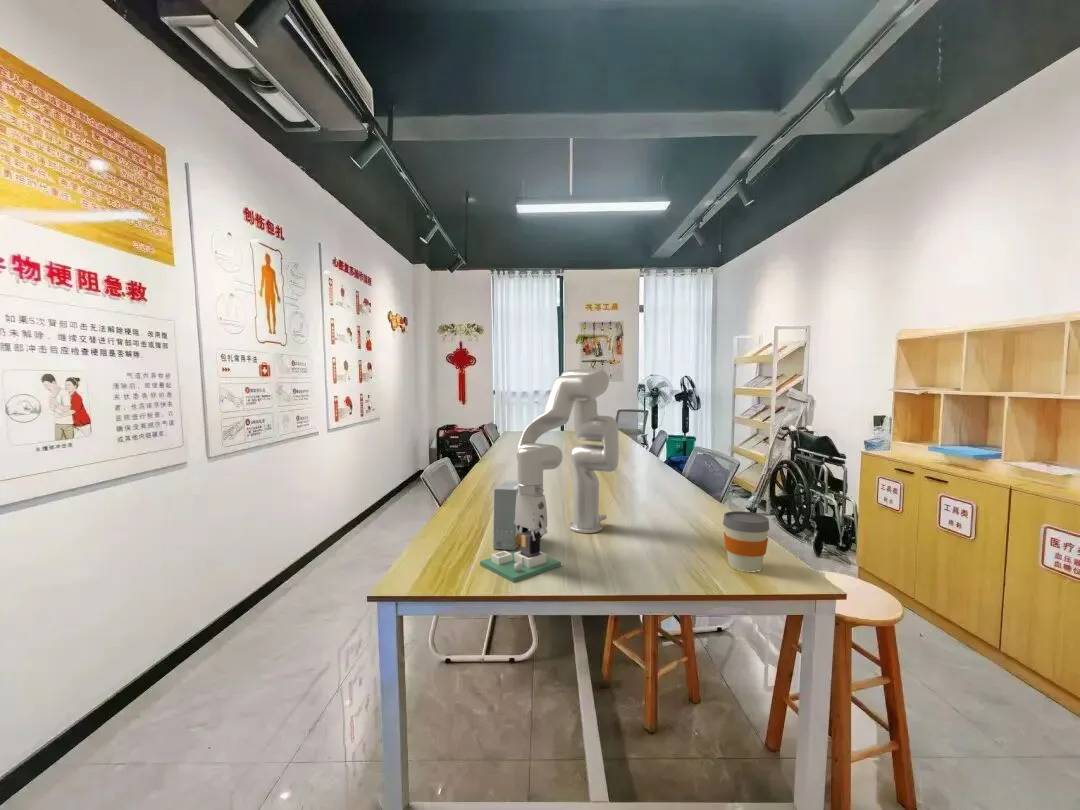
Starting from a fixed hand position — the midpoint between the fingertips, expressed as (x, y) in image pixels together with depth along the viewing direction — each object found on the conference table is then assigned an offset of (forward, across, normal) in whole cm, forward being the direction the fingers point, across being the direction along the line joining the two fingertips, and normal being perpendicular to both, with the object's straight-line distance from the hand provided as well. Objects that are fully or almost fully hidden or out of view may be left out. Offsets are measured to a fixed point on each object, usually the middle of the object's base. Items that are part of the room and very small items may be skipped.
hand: (529, 550), depth 139 cm
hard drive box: (+5, +20, -8) cm, 22 cm away
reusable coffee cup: (+5, -42, -48) cm, 64 cm away
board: (+5, +2, +2) cm, 6 cm away
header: (+4, 0, 0) cm, 4 cm away
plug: (+3, 0, 0) cm, 3 cm away
